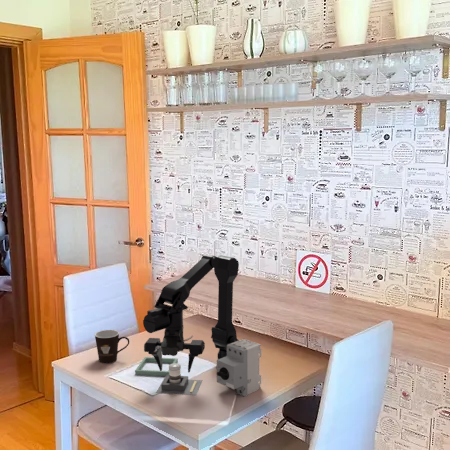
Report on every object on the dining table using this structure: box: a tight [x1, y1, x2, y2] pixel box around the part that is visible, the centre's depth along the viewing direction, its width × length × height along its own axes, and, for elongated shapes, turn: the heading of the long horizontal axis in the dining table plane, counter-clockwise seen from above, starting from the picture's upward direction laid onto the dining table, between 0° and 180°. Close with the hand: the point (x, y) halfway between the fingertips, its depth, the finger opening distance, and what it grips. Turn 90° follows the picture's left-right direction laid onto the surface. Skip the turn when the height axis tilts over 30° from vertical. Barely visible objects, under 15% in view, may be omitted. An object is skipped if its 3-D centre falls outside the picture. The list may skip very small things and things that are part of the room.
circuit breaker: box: [215, 338, 262, 397], centre depth 183 cm, size 8×14×15 cm, turn 134°
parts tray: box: [134, 356, 179, 377], centre depth 200 cm, size 12×12×2 cm
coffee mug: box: [94, 329, 130, 364], centre depth 209 cm, size 12×9×10 cm
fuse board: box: [155, 375, 203, 396], centre depth 186 cm, size 13×11×3 cm
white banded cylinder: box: [168, 362, 182, 384], centre depth 185 cm, size 4×4×7 cm
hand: (175, 371), depth 185 cm, fingers open, 9 cm apart
